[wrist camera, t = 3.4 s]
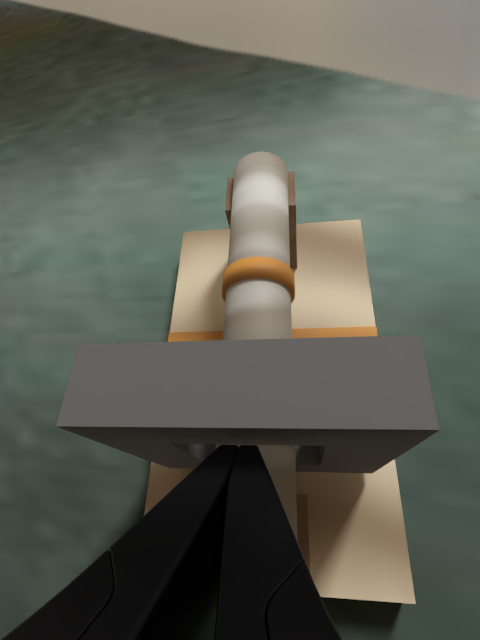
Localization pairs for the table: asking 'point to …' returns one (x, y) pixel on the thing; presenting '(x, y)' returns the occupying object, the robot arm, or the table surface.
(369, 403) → the collar
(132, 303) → the table surface
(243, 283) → the pipe rig
